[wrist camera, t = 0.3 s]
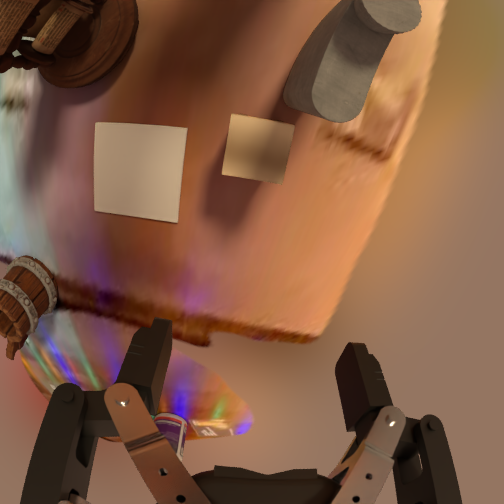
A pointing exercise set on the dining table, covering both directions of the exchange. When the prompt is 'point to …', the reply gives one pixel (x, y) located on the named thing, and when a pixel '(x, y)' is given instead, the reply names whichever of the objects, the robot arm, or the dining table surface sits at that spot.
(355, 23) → the hip flask
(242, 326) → the dining table surface
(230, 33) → the dining table surface
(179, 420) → the pill bottle
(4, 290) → the mug
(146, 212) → the mat
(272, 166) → the stool
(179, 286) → the dining table surface
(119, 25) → the scroll
